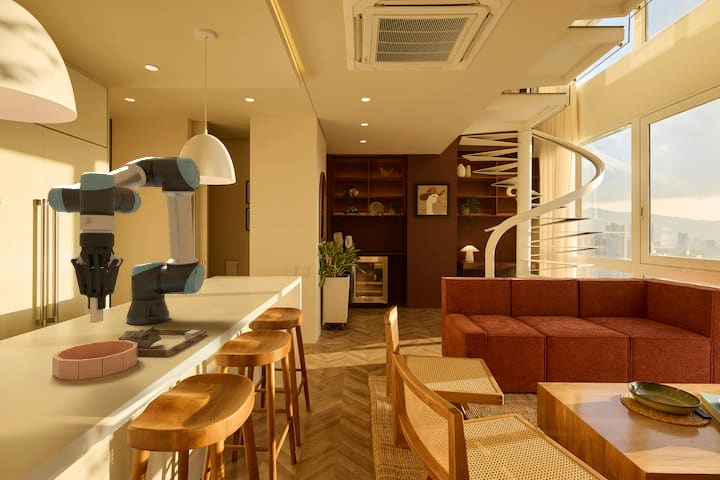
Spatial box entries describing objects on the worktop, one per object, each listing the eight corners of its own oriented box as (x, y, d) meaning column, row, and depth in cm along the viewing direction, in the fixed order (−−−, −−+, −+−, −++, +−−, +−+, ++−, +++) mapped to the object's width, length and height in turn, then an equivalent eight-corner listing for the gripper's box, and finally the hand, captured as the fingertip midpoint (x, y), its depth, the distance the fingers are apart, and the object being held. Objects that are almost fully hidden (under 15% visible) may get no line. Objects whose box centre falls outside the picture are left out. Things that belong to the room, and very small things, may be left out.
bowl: (92, 355, 108) (92, 339, 108) (151, 356, 106) (151, 341, 106) (34, 378, 90) (34, 359, 90) (104, 380, 89) (104, 361, 89)
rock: (162, 335, 120) (162, 326, 112) (158, 354, 117) (157, 347, 109) (122, 333, 116) (118, 324, 108) (117, 352, 113) (113, 345, 105)
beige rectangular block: (193, 336, 129) (193, 329, 129) (200, 337, 128) (200, 330, 128) (184, 339, 125) (184, 332, 125) (192, 340, 124) (192, 333, 124)
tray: (148, 334, 131) (148, 329, 131) (206, 335, 130) (206, 330, 130) (97, 354, 108) (97, 348, 108) (167, 356, 107) (167, 350, 107)
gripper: (61, 231, 95) (61, 324, 95) (110, 231, 94) (109, 325, 94) (85, 232, 102) (84, 318, 102) (130, 232, 101) (130, 319, 101)
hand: (96, 321), depth 98 cm, fingers closed
